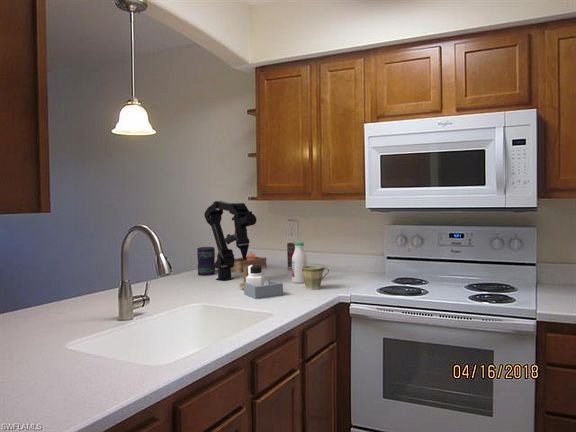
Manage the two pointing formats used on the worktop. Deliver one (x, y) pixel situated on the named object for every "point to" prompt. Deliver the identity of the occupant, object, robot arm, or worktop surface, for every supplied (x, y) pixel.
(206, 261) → the storage jar
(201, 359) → the worktop surface
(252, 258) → the pottery
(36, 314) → the worktop surface
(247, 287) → the grey angular block
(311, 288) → the ceramic cup
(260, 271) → the medicine bottle
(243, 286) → the tan wooden stepped block
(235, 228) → the robot arm
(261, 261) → the wooden box
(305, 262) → the milk bottle
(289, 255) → the supplement box
